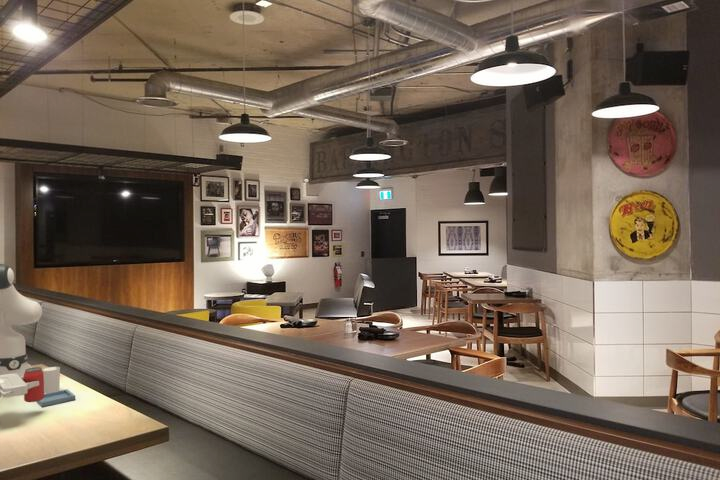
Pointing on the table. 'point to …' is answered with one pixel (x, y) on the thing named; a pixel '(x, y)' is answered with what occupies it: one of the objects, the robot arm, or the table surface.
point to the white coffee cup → (51, 379)
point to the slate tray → (56, 398)
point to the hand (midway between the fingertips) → (36, 380)
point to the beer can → (37, 391)
